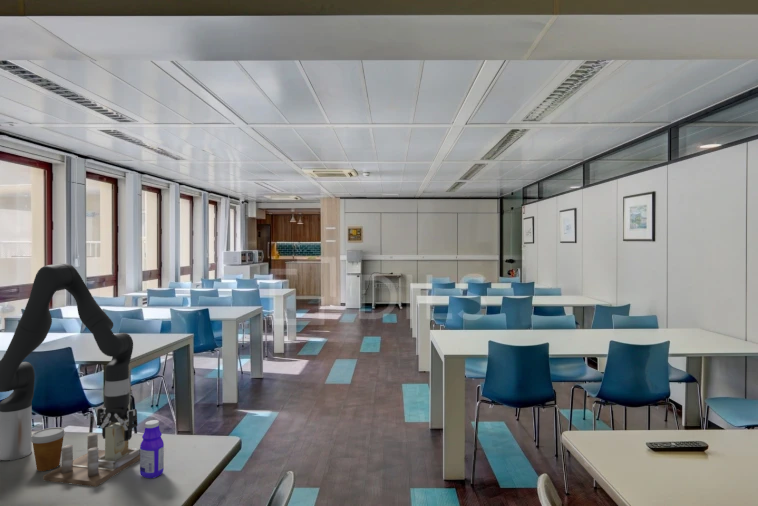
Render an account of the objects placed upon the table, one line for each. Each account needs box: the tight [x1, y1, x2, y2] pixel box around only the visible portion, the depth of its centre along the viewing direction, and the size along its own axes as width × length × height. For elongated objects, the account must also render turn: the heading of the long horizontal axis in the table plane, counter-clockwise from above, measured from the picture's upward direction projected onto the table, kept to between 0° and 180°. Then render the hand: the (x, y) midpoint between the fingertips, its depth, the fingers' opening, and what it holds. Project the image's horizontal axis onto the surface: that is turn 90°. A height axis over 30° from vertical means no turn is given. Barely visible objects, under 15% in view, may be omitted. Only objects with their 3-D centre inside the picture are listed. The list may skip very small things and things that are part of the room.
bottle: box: [139, 419, 165, 479], centre depth 147 cm, size 7×6×17 cm
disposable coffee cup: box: [31, 426, 66, 472], centre depth 153 cm, size 10×10×12 cm
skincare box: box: [104, 422, 129, 461], centre depth 154 cm, size 6×4×12 cm
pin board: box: [42, 432, 140, 487], centre depth 151 cm, size 20×20×10 cm
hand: (116, 439), depth 154 cm, fingers open, 8 cm apart
